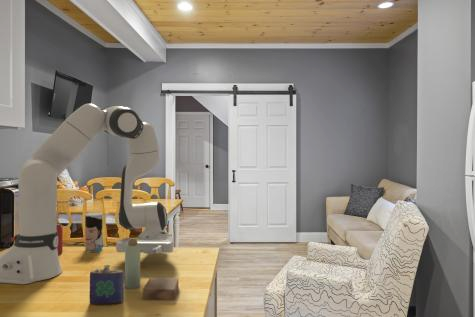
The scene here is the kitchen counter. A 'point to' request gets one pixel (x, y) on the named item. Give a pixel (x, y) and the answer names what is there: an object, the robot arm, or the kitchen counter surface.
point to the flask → (106, 286)
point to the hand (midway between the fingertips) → (140, 251)
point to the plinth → (160, 289)
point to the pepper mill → (132, 264)
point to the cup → (93, 231)
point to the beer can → (59, 238)
